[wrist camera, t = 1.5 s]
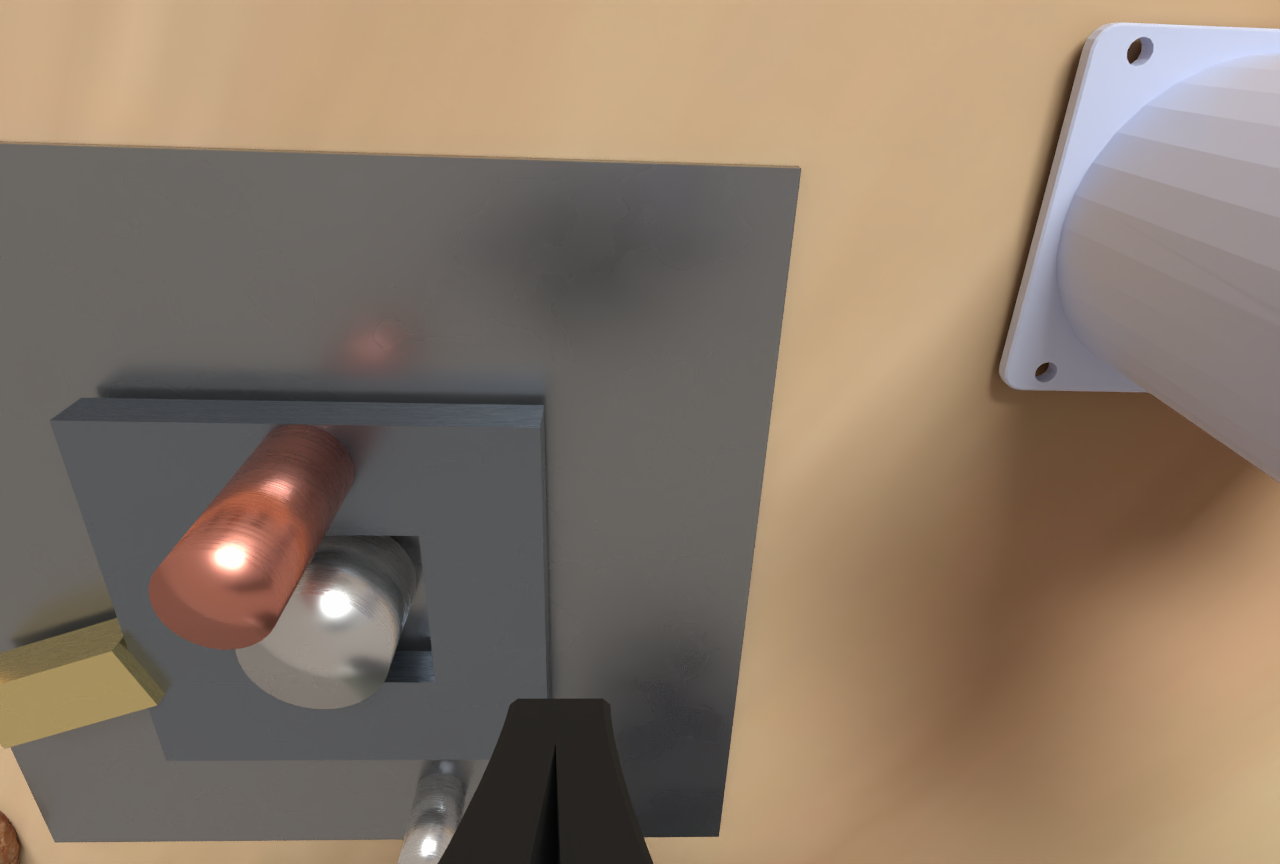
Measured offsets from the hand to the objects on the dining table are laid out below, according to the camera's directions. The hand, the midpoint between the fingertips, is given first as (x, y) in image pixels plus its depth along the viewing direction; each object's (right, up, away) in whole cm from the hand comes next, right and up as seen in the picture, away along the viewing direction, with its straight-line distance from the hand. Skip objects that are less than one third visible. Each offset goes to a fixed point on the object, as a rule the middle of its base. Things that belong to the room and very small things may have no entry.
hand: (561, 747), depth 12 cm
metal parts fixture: (-9, +1, +10) cm, 13 cm away
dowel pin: (-5, -7, +14) cm, 17 cm away
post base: (-7, +1, +10) cm, 12 cm away
